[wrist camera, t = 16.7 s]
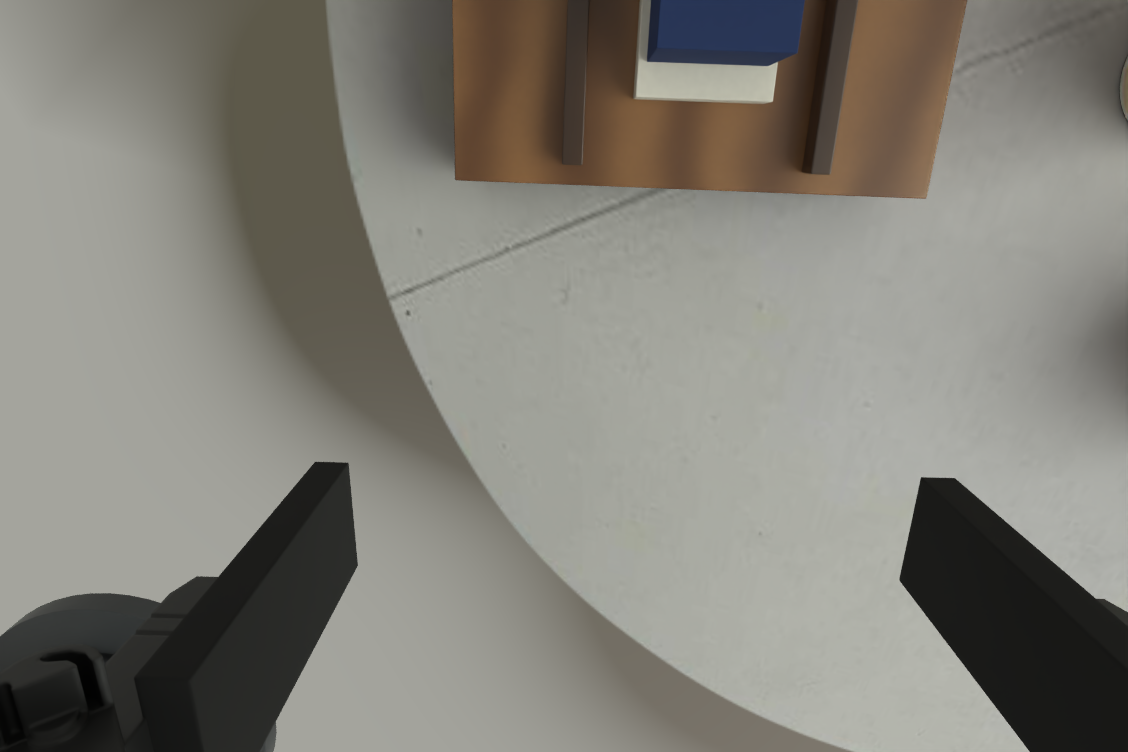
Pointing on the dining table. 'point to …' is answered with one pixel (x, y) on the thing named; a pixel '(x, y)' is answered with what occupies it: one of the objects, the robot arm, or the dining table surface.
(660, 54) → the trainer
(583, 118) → the display stand
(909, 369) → the dining table surface
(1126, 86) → the coffee cup
